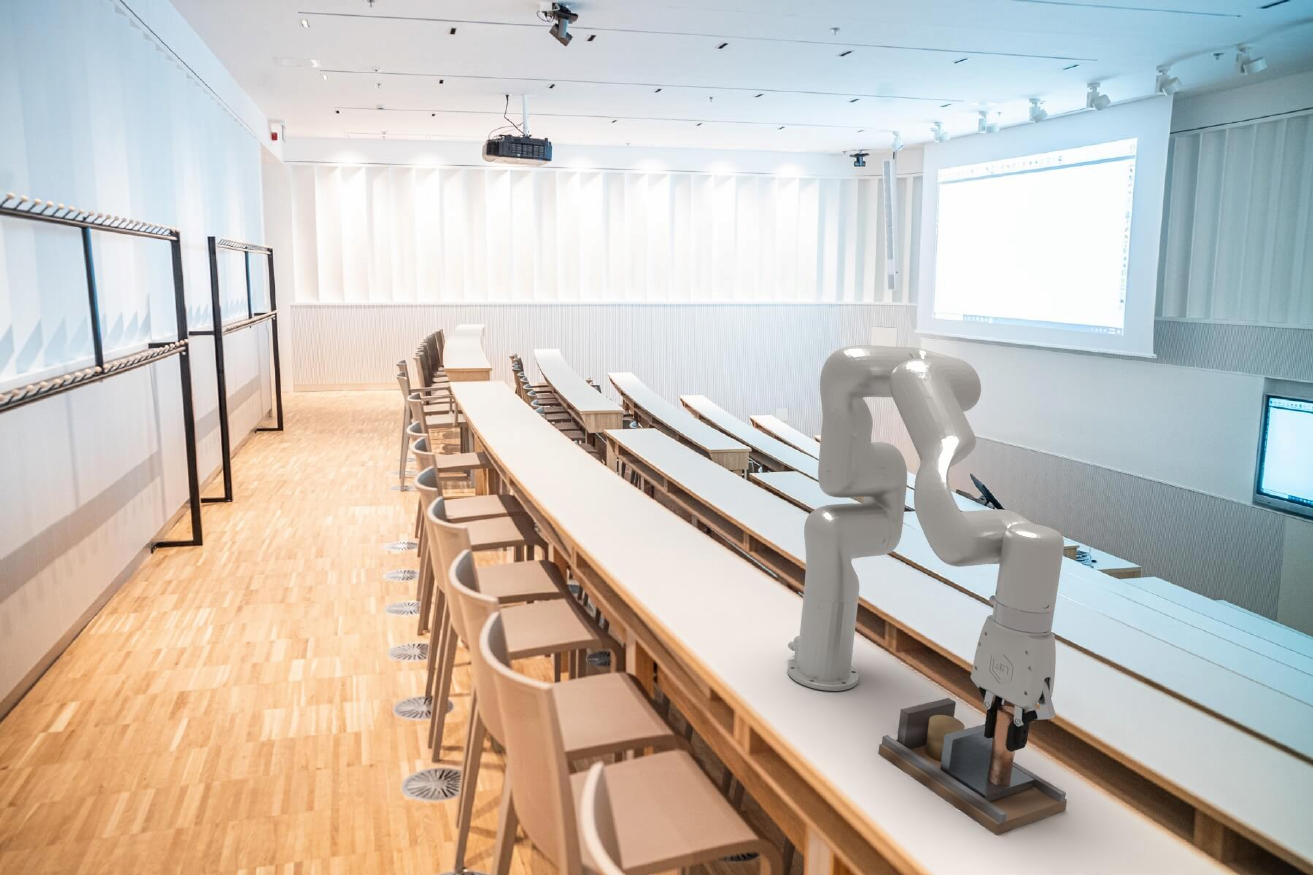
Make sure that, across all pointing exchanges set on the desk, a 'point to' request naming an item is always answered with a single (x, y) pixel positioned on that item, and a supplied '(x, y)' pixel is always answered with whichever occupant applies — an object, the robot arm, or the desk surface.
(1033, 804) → the press base
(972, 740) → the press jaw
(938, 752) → the tan round peg
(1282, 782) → the desk surface
